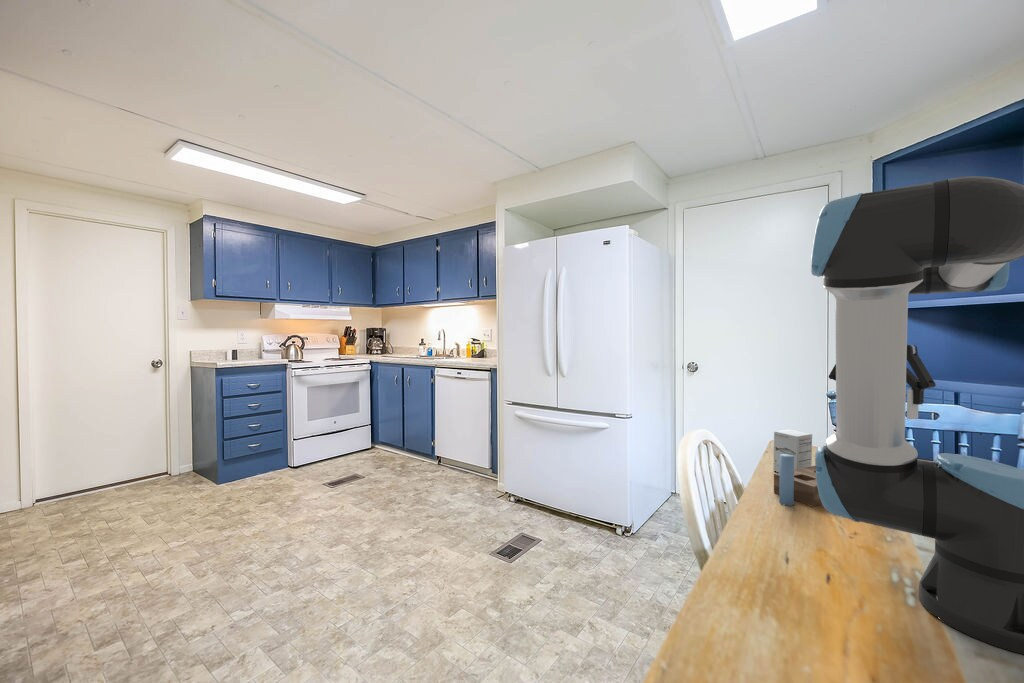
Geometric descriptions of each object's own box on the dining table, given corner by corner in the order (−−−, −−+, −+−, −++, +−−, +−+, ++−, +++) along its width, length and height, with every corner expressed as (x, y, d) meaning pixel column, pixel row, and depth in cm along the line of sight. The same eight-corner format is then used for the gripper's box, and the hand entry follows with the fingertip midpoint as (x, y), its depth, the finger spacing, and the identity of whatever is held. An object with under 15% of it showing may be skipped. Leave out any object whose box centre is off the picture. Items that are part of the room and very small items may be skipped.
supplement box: (772, 471, 129) (772, 430, 128) (787, 468, 132) (787, 428, 132) (797, 479, 122) (797, 436, 122) (812, 475, 125) (813, 433, 125)
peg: (788, 506, 103) (788, 458, 102) (776, 502, 105) (777, 454, 105) (796, 504, 104) (796, 456, 104) (784, 500, 106) (784, 453, 106)
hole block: (813, 506, 102) (813, 486, 102) (773, 492, 112) (774, 473, 112) (856, 495, 110) (856, 476, 109) (816, 482, 119) (816, 465, 119)
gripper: (958, 322, 89) (956, 422, 89) (832, 325, 112) (831, 404, 112) (937, 322, 86) (936, 425, 86) (813, 325, 109) (812, 405, 110)
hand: (876, 413), depth 99 cm, fingers open, 13 cm apart
